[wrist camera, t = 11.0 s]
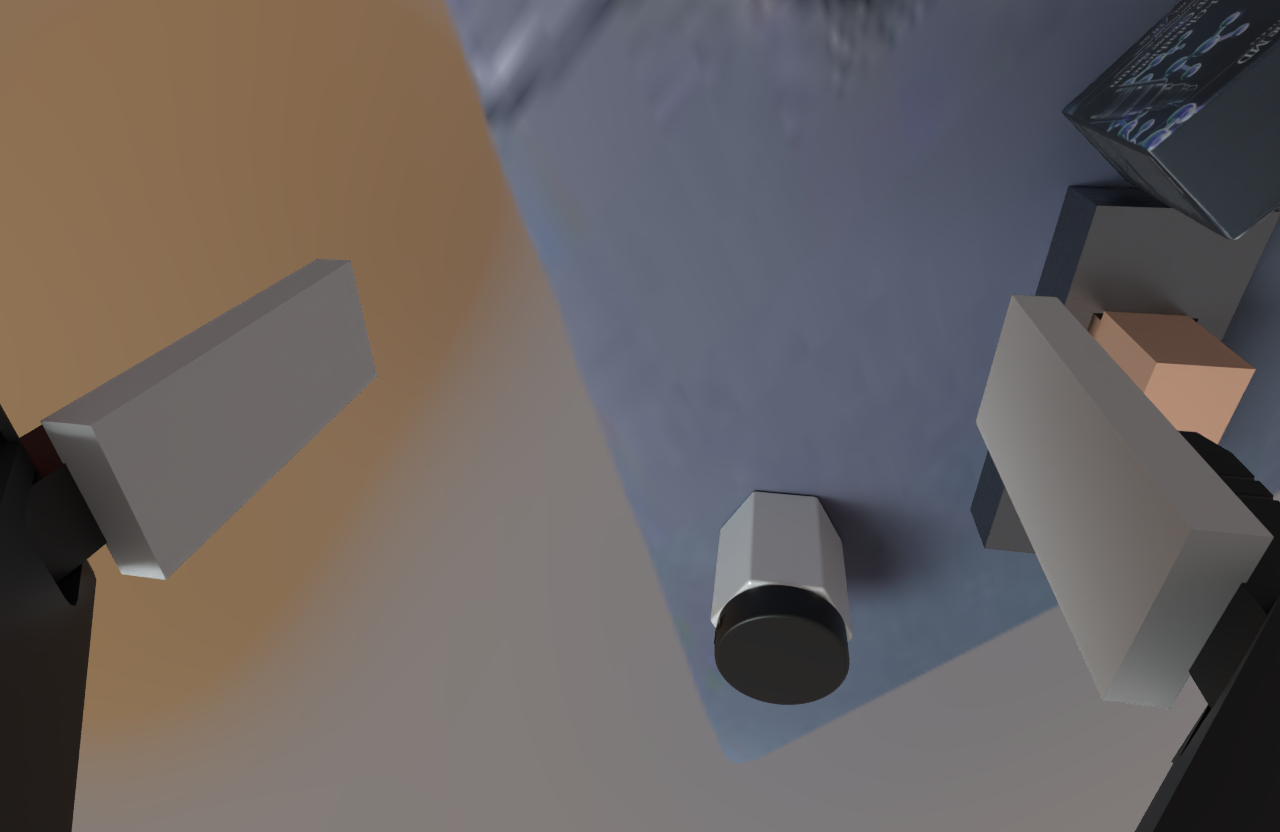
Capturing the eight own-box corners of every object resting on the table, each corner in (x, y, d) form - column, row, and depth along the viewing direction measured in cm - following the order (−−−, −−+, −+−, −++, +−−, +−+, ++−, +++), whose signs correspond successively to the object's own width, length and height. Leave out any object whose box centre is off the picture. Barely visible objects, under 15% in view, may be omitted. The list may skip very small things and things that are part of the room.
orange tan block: (1076, 284, 40) (1156, 362, 31) (1153, 287, 39) (1255, 369, 31) (1022, 444, 46) (1078, 548, 37) (1089, 450, 45) (1160, 556, 37)
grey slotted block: (1068, 186, 37) (1097, 205, 34) (1234, 191, 36) (1281, 212, 33) (970, 509, 49) (984, 548, 45) (1094, 521, 48) (1118, 561, 44)
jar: (703, 507, 53) (686, 630, 43) (805, 471, 50) (812, 595, 39) (756, 589, 56) (752, 721, 46) (855, 560, 53) (873, 695, 43)
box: (1210, -34, 32) (1378, -42, 23) (1283, 53, 33) (1469, 78, 24) (1055, 111, 36) (1146, 151, 27) (1125, 184, 37) (1235, 246, 28)
